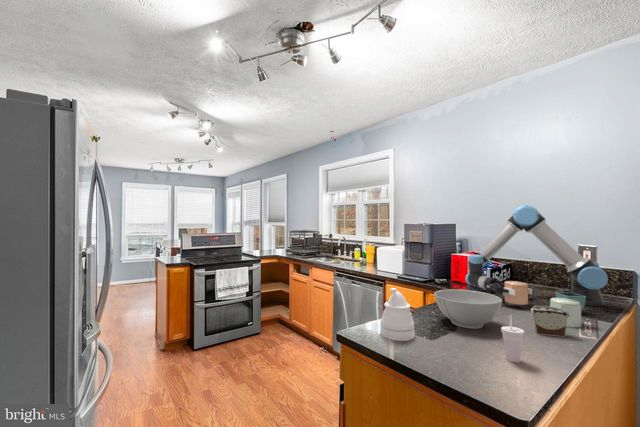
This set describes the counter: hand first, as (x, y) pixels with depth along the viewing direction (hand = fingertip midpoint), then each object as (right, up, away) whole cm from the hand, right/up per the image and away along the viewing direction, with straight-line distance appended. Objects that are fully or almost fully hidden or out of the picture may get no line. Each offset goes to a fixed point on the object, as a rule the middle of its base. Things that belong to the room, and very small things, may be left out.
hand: (523, 292), depth 155 cm
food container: (-13, -8, -34) cm, 37 cm away
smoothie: (-42, -7, -58) cm, 72 cm away
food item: (+12, -10, +24) cm, 29 cm away
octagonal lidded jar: (-1, -6, +4) cm, 7 cm away
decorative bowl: (-40, -8, -23) cm, 47 cm away
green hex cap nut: (+4, -8, -22) cm, 24 cm away
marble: (0, -7, -8) cm, 11 cm away
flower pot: (+20, -9, -5) cm, 22 cm away
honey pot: (-74, -7, -36) cm, 83 cm away
